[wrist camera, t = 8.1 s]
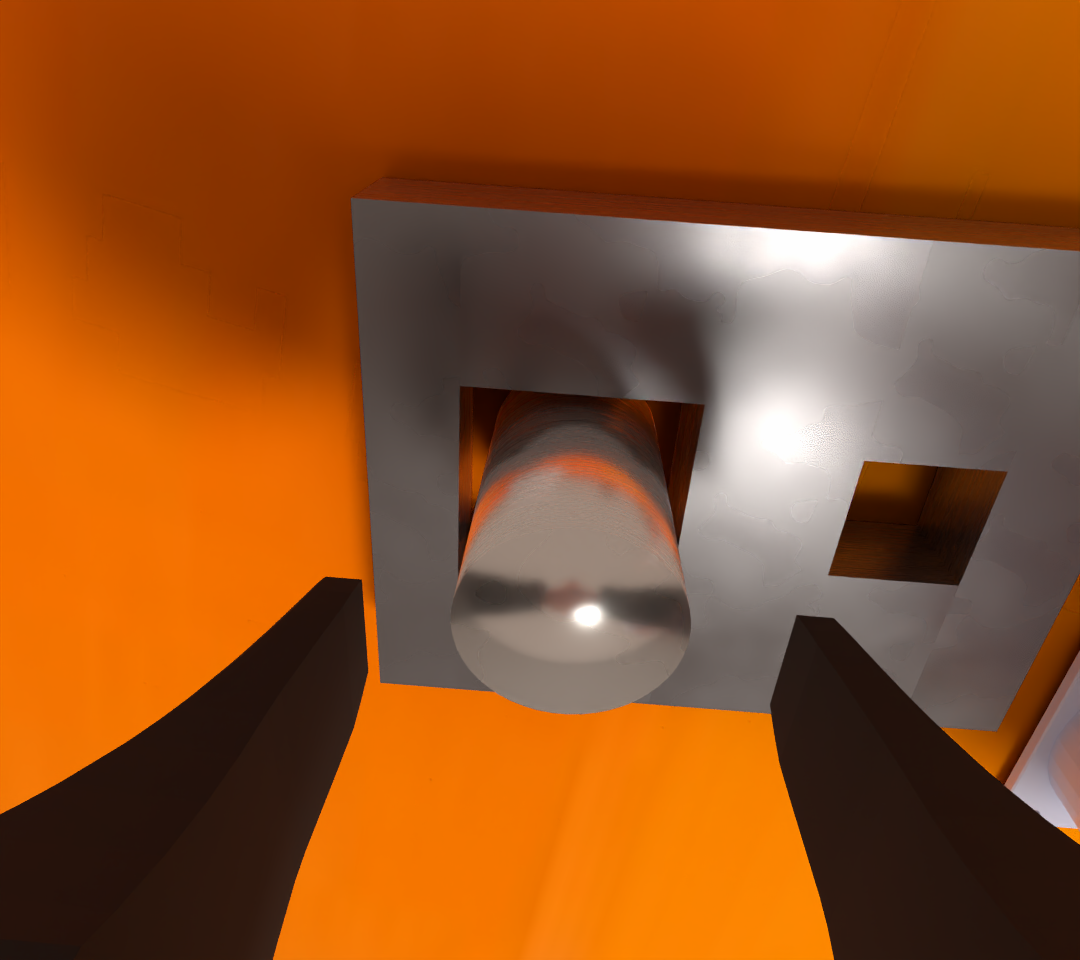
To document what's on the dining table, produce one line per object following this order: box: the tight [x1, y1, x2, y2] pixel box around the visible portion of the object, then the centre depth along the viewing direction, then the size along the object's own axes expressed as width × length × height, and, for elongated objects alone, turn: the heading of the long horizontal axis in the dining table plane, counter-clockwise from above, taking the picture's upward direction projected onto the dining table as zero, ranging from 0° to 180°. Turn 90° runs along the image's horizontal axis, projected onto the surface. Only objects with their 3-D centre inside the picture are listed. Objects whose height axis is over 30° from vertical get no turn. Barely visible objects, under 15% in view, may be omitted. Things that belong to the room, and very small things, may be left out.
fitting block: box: [351, 177, 1080, 731], centre depth 18 cm, size 16×12×2 cm
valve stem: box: [451, 390, 691, 714], centre depth 16 cm, size 4×4×7 cm
